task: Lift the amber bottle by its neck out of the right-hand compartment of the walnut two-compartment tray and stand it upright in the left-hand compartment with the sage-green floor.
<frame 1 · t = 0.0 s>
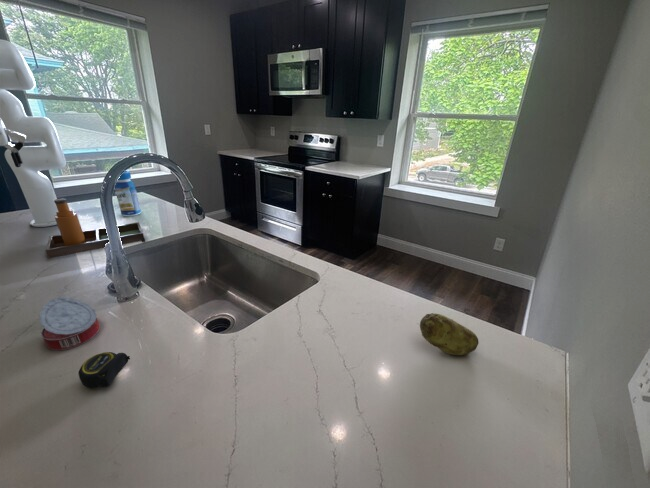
tape measure: (109, 376, 59), on the worktop
canned food: (74, 335, 69), on the worktop
bottle: (76, 245, 109), point 1 cm above the worktop, touching tray
beverage bottle: (131, 214, 142), on the worktop
potato: (444, 348, 69), on the worktop
tray: (100, 243, 113), on the worktop
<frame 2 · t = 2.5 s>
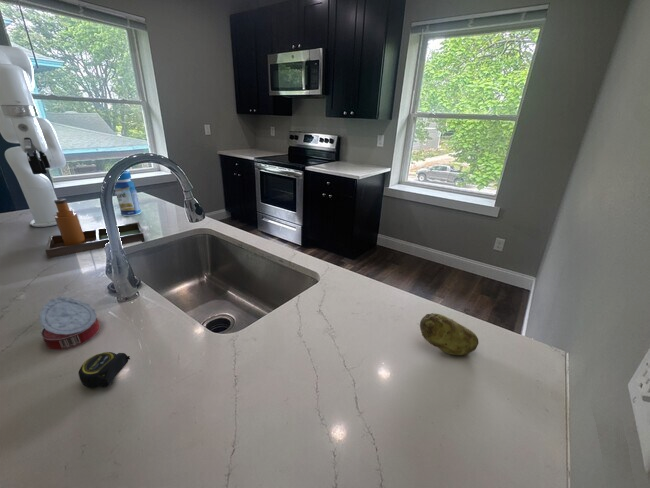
hand: (42, 170, 95), 28 cm above the worktop, tool pointing down, fingers open, 9 cm apart
nothing on the worktop moved.
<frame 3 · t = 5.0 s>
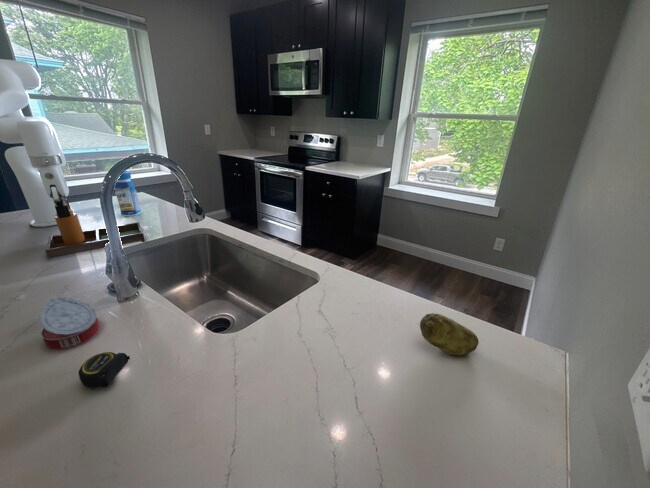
hand: (65, 214, 103), 13 cm above the worktop, tool pointing down, fingers closed on bottle, 4 cm apart
bottle: (76, 245, 109), point 1 cm above the worktop, touching gripper, tray
everything else where it was.
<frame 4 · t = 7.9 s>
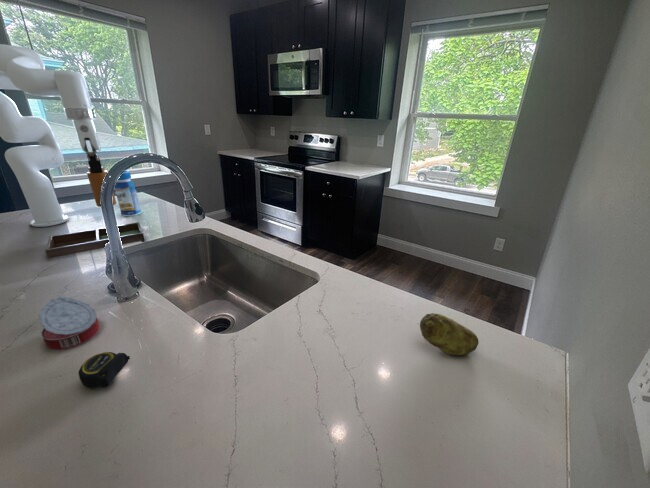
hand: (97, 170, 104), 27 cm above the worktop, tool pointing down, fingers closed on bottle, 4 cm apart
bottle: (106, 204, 109), point 15 cm above the worktop, touching gripper
everything else where it was.
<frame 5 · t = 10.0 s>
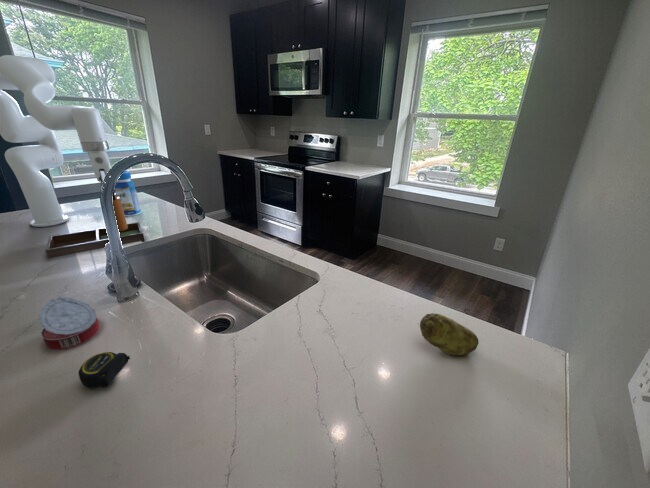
hand: (110, 198, 109), 17 cm above the worktop, tool pointing down, fingers closed on bottle, 4 cm apart
bottle: (118, 228, 114), point 4 cm above the worktop, touching gripper
everything else where it was.
when the fingers open (13 cm above the worktop, at t = 11.3 s): bottle stays where it is, resting on tray.
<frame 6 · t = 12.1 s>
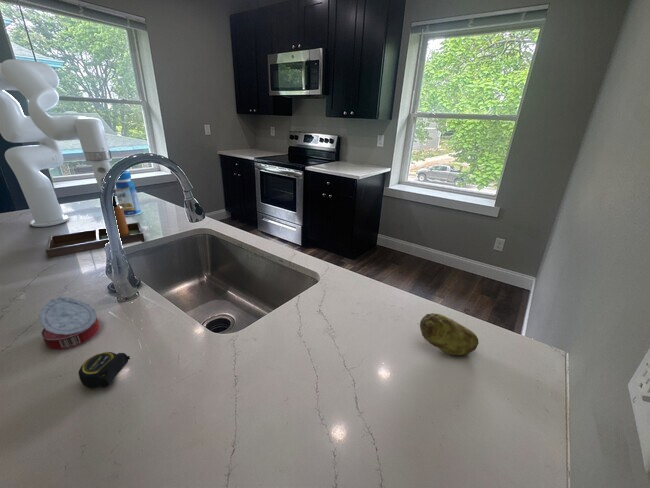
hand: (111, 203, 110), 14 cm above the worktop, tool pointing down, fingers open, 9 cm apart
bottle: (121, 237, 116), point 1 cm above the worktop, touching tray
everything else where it was.
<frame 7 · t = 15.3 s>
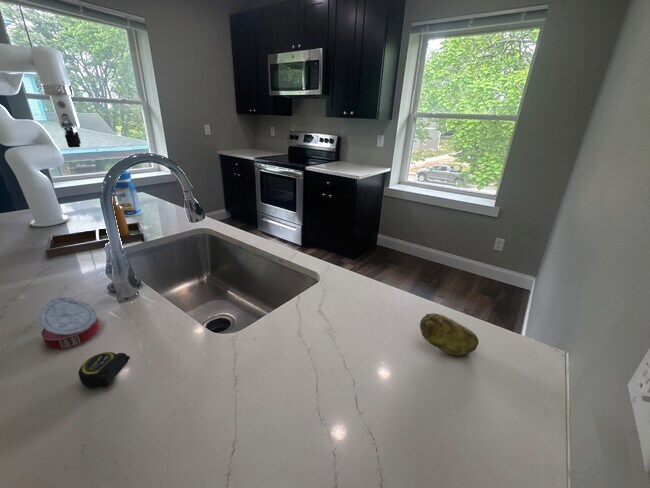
hand: (75, 145, 106), 34 cm above the worktop, tool pointing down, fingers open, 9 cm apart
nothing on the worktop moved.
at the end: bottle inside the target area on the tray (0.6 cm from its centre), point 0.8 cm above the tray's base; bottle tilted 0°; the gripper is holding nothing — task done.
